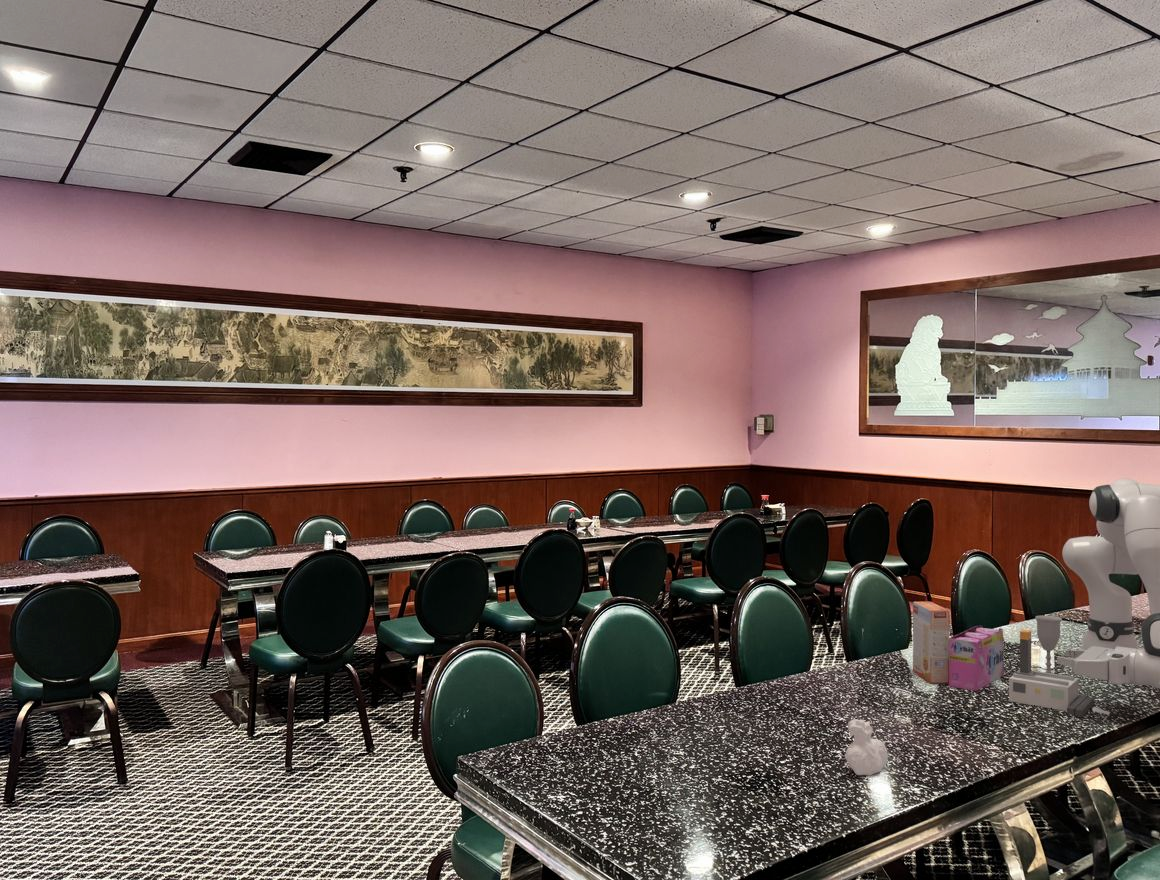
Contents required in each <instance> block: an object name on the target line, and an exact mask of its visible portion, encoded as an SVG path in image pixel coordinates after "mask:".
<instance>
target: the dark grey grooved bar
mask: <svg viewBox="0 0 1160 880" xmlns="http://www.w3.org/2000/svg"><path fill="white" fill-rule="evenodd" d="M1095 700H1096V699H1095V697H1092V696H1089V694H1086V693H1081V694H1080V695H1078V698H1077V699H1076V700H1075V701H1074V702H1072V703H1071V704H1070V705H1069V706H1068V707H1067V711H1066V714H1067V715H1071V716H1076V717H1080V718H1081V717H1084V715H1085V714H1086V713H1087V712H1088V711H1089V710H1090V709H1092V707H1093V706H1094V705H1095V704H1096V703H1095Z"/></svg>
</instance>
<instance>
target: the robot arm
mask: <svg viewBox="0 0 1160 880" xmlns="http://www.w3.org/2000/svg"><path fill="white" fill-rule="evenodd" d="M1088 503H1089V504H1088V505H1089V510H1090V511H1091V514H1092V517H1093V519H1095V520H1096V525H1095V526H1096V530H1097V532H1098V533H1099V535H1100V536H1093V535H1091V536H1090V535H1088V536H1087V535H1086V536H1078V537H1077V536H1076V537H1073V538H1068V539H1067V541H1066V542H1065V544H1064V545H1063V548H1062V555H1061V556H1062V560H1063V562H1064V564H1065V565H1066V566H1067V567H1068V568H1069V569H1070V570H1071V571H1073V572H1074V573H1075V574H1076V575H1077V576H1078V577H1079V578H1080V579H1081V581H1082V582H1083V583H1084V585H1085V587H1086V590H1087V594H1088V595H1087V596H1088V604H1089V617H1087V629H1088V630H1087V632H1086V633H1084V634H1083V635H1082V636H1081V637H1082V640H1081V649H1067V650H1066V656H1061V655H1060V656H1058V657H1057V659H1056V660H1057V661H1056V662H1057V664H1058V665H1062V666H1066V667H1069V668H1072V669H1073V672H1074V673H1073V674H1076V675H1078V676H1082V677H1086V678H1091V679H1094V680H1100V681H1109V684H1111V685H1122V684H1124V685H1125V684H1126V685H1134V686H1150V687H1153V688H1155V689H1160V484H1152V483H1151V484H1150V483H1140V482H1138V481H1136V480H1135V479H1130V478H1120V479H1117V480H1115V481H1113V482H1111V484H1102V485H1099V486H1096V487H1094V489H1092V491H1091V495H1090V497H1089V502H1088ZM1111 574H1113V575H1114V574H1117V575H1138V576H1139V577H1140V580H1141V581H1142V583H1143V586H1144V589H1145V590H1146V595H1147V599H1148V605H1149V612H1150V615H1149V616H1147V617H1146V618H1144V619H1143V621H1142V624H1141V628H1140V636H1141V640H1142V645H1143V647H1142V648H1139V641H1138V640H1137V639H1136V637H1135V635H1134V633H1135V625H1134V620H1133V599H1132V595H1131V594H1130V592H1129V591H1128V590H1127V589H1125V588H1124V587H1121V586H1120V585H1117V584H1115V583H1113V582H1111V580H1110V577H1109V575H1111Z"/></svg>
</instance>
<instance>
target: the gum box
mask: <svg viewBox="0 0 1160 880" xmlns="http://www.w3.org/2000/svg"><path fill="white" fill-rule="evenodd" d="M1004 651H1005V650H1004V629H1003V628H1001V627H1000V628H998V630H996V629H992V628H985V627H983V626H982V625H976V626H973V627H971V628H969V629H967V630H964V631H963V632H960V633H958V634H957V633H956V634H955V635H953V636H951V637H949V683H948V687H952V688H958V689H963V690H969V691H974V692H976V691H979V690H980V689H983V688H984V687H986V686H988V685H990V684H991V683H993V682H995V681H997V680H998V679H1000V678H1001V677H1003V676H1005V661H1004V659H1005V658H1004ZM994 680H995V681H994Z"/></svg>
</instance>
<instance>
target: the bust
mask: <svg viewBox="0 0 1160 880" xmlns="http://www.w3.org/2000/svg"><path fill="white" fill-rule="evenodd" d="M871 726H872V725H871V721H870V720H869V721H864V720H863V719H856V718H852V719H851V720H850V721H848V723H847V730H848V732H849V735H850V737H853V736H854V739H853V740H852V741H853V742H851V744H849V746H848V747H847V749H846V750H845V754H844V757H845V760H846V763H847V766H848V767H849V768H850V769H852V770H853V772H854V773H855V775H856V776H868V777H871V776H872V775H874V774H878V773H881V772H882V771H883V769H884V767H885V766H886V765H887V763H888V759H889V758H888V757H889V754H888V751H887V747H886V745H885V743H884V742H883V741H882V740H880V739H876V738H871V736H872V733H874V729H873V727H871Z"/></svg>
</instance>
